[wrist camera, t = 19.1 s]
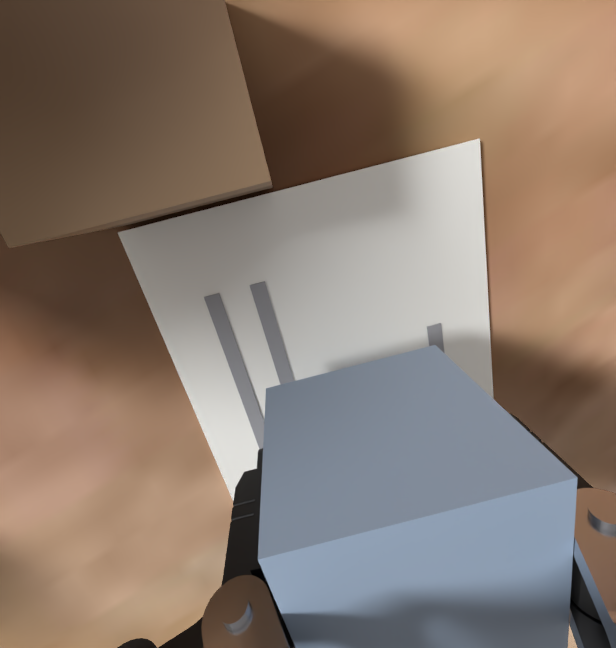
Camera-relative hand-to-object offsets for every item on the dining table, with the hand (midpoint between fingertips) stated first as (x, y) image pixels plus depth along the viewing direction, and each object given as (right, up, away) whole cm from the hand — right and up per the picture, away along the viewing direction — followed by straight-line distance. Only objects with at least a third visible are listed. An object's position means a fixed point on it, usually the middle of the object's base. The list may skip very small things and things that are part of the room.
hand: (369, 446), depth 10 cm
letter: (0, +1, +3) cm, 3 cm away
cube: (0, 0, 0) cm, 0 cm away
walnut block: (-6, +9, -1) cm, 11 cm away
